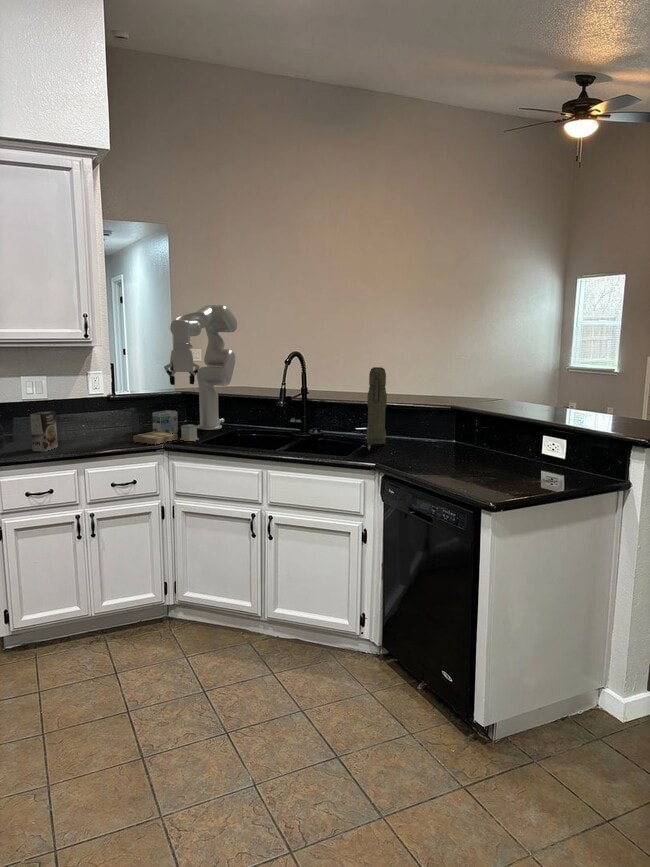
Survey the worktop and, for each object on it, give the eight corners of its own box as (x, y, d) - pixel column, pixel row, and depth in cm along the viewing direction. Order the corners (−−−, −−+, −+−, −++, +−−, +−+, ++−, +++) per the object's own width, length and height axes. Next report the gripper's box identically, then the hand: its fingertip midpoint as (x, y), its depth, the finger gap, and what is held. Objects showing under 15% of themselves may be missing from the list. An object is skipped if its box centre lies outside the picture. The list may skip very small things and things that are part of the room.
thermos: (366, 445, 291) (368, 368, 285) (365, 440, 303) (367, 366, 296) (386, 446, 291) (388, 369, 285) (384, 441, 303) (386, 366, 296)
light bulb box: (161, 435, 311) (160, 413, 309) (152, 434, 315) (151, 412, 313) (178, 432, 319) (177, 411, 317) (169, 431, 323) (169, 409, 321)
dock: (156, 437, 306) (156, 430, 306) (177, 440, 299) (177, 434, 299) (133, 442, 295) (133, 435, 294) (155, 445, 287) (155, 438, 287)
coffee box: (45, 451, 273) (42, 414, 270) (32, 451, 274) (29, 413, 271) (58, 447, 281) (56, 411, 278) (45, 446, 283) (42, 410, 280)
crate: (189, 439, 303) (188, 424, 302) (198, 440, 300) (198, 425, 299) (180, 441, 298) (179, 425, 297) (189, 442, 295) (189, 427, 294)
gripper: (195, 347, 303) (195, 383, 306) (160, 346, 293) (161, 384, 295) (202, 347, 297) (202, 384, 300) (167, 347, 287) (168, 385, 289)
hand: (182, 384), depth 298 cm, fingers open, 9 cm apart
